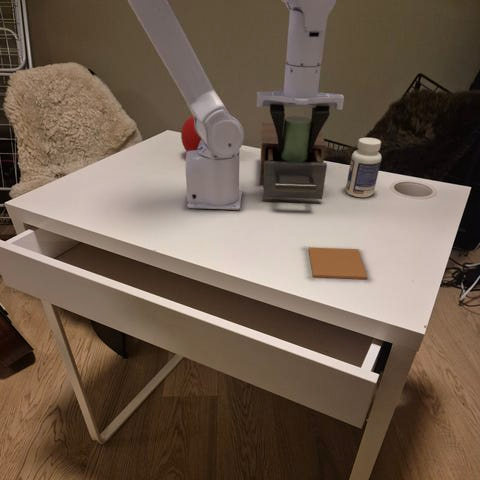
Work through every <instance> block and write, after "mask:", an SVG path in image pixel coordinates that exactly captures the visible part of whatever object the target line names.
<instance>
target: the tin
mask: <svg viewBox="0 0 480 480" xmlns="http://www.w3.org/2000/svg"><path fill="white" fill-rule="evenodd" d="M311 125H312V120H311V118H310V117H306V116H302V115H301V116H300V115H299V116H298V115H294V116H291V115H290V116H285V117H284V130H283V150H282V152H281V158H282V159H284V160H286V161H290V162H302V161H305V160H307V156H308V147H309V140H310V133H311Z"/></svg>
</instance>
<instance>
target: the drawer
mask: <svg viewBox="0 0 480 480" xmlns="http://www.w3.org/2000/svg"><path fill="white" fill-rule="evenodd" d="M327 168H328V164H327V162H323V163H321V159H320V155H319V152H318V149H313V151H312V153H308V156H307V160H305V161H302V162H290V161H286V160H284V159H282V158H281V152H278V148H270V147H268V153H267V161H265V165H264V183H263V185H262V189H263V190H262V198H271V199H272V198H273V199H274V198H275V199H297V200H298V199H300V200H301V199H302V200H323V195H324V188H325V181H326V176H327Z"/></svg>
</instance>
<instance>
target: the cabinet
mask: <svg viewBox="0 0 480 480" xmlns="http://www.w3.org/2000/svg"><path fill="white" fill-rule="evenodd" d="M283 130H284V127H283ZM260 134H261V136H260V137H261V138H260V157H259V185H260V186H263V183H264V165H265V161H267V153H268V147H270V148H278V139H277V133H276V129H275V126H274V123H272V122H271V123H270V122H262V123H261V133H260ZM326 148H327V144H326V141H325V138H324V136H323V133H322V129H321V130H320V132H319V134H318V137H317V139H316V141H315V144H314V147H313V149H318V152H319V155H320V159H321V163H325V162H324V161H325V160H324V159H325V155H326Z"/></svg>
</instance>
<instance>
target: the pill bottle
mask: <svg viewBox="0 0 480 480" xmlns="http://www.w3.org/2000/svg"><path fill="white" fill-rule="evenodd" d="M356 145H357V146H356V147H357V150H354V151H353V153H352V154H351V157H350V164H349V169H348V174H347V180H346V185H345V186H346V187H345V191H346V193H347V194H348V195H351V196H353V197H356V198H368V197H371V196H372V195H373V194H374V192H375V189H376V184H377V180H378V177H379V176H378V175H379V171H380V167H381V166H380V165H381V162H382V155H381V153H380V152H379V151H380V149H381V145H382V141H381V139H378V138H376V137H361V138H359V139H358V142H357V144H356Z"/></svg>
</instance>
